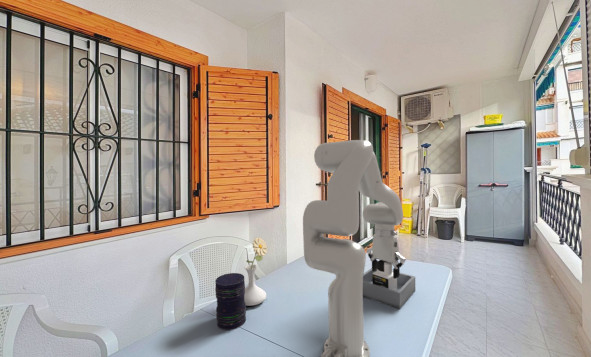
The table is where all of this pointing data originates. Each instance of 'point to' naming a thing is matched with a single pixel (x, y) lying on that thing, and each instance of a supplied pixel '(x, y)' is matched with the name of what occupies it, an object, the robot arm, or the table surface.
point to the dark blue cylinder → (230, 301)
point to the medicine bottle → (384, 275)
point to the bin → (389, 290)
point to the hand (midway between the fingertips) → (385, 273)
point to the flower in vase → (253, 292)
